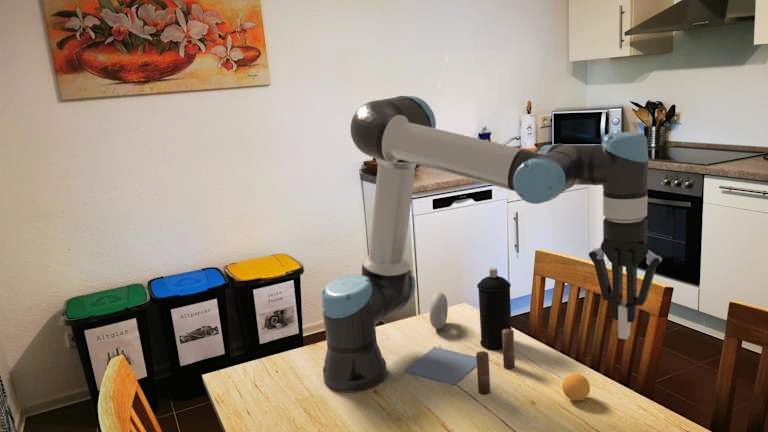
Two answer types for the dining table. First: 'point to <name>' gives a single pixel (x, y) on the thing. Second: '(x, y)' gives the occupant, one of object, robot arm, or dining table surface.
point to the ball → (576, 387)
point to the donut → (438, 310)
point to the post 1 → (483, 372)
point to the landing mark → (443, 365)
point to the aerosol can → (494, 309)
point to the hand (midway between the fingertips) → (624, 335)
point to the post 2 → (508, 348)
